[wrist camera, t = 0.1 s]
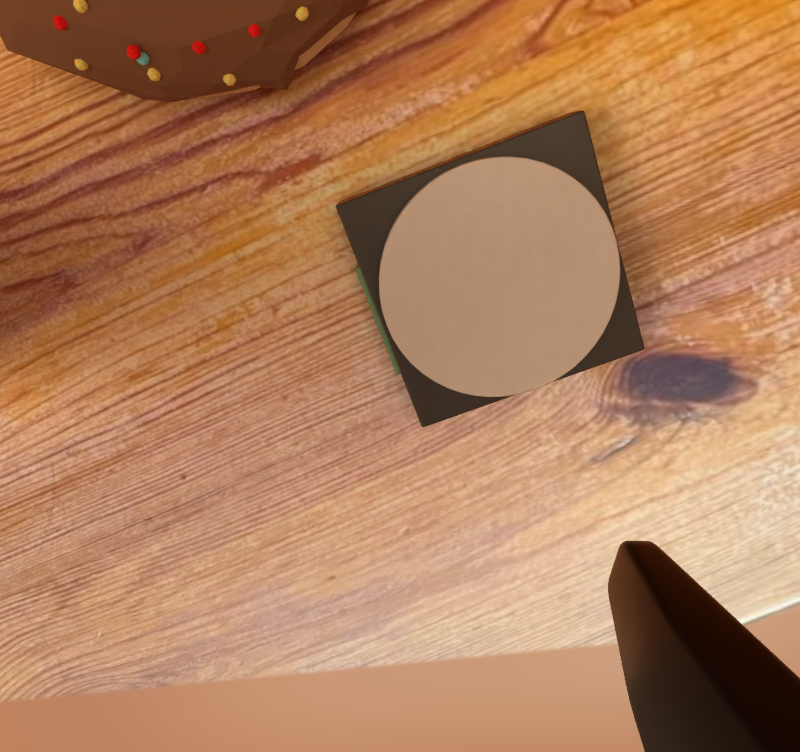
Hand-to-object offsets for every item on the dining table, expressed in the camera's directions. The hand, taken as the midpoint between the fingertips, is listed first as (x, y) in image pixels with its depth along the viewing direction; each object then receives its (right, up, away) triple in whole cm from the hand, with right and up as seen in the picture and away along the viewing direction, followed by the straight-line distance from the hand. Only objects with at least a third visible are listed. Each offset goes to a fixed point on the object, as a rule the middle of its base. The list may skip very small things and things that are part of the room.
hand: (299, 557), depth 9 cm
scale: (+5, +6, +16) cm, 18 cm away
